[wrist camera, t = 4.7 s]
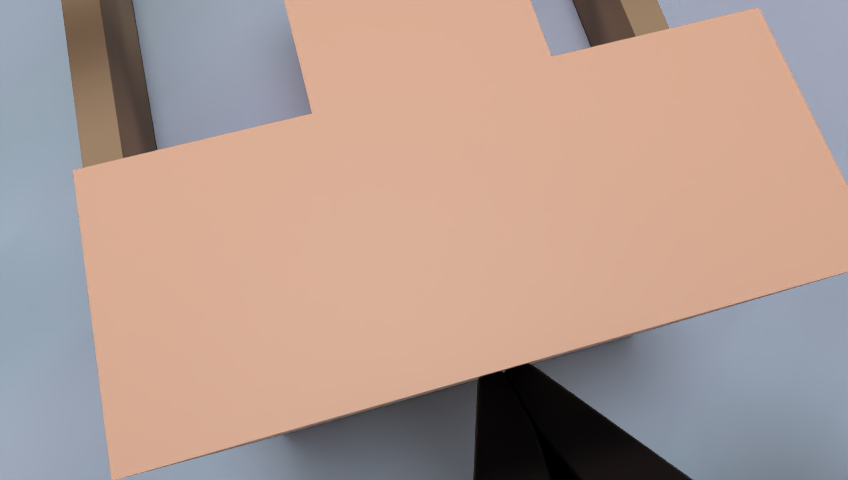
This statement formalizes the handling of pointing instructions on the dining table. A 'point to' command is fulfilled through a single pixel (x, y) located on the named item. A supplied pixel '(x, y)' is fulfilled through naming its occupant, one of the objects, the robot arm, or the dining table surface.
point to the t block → (444, 218)
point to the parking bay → (126, 88)
